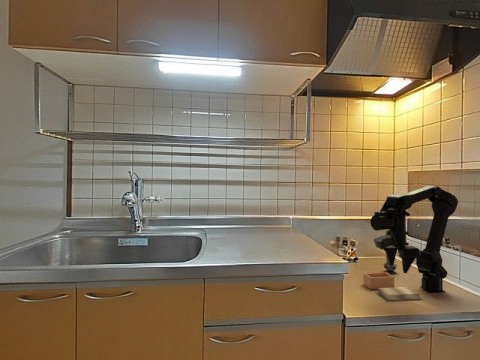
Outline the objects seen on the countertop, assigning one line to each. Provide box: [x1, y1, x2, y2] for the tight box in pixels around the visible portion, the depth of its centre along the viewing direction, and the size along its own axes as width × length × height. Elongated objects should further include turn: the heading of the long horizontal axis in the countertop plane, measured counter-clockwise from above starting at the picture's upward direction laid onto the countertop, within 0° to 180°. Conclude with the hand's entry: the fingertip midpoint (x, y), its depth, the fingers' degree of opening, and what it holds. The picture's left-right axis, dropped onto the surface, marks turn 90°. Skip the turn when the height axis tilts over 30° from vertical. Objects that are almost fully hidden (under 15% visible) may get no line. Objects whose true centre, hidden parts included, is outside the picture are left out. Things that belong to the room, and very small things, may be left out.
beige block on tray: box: [378, 286, 421, 300], centre depth 119 cm, size 12×7×2 cm, turn 94°
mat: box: [374, 291, 424, 303], centre depth 119 cm, size 14×9×1 cm, turn 94°
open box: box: [363, 272, 395, 290], centre depth 130 cm, size 10×6×5 cm, turn 94°
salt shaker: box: [382, 255, 398, 275], centre depth 149 cm, size 6×6×12 cm
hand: (398, 269), depth 119 cm, fingers open, 9 cm apart
